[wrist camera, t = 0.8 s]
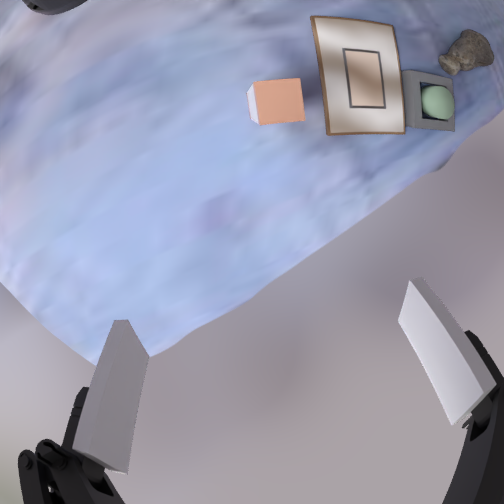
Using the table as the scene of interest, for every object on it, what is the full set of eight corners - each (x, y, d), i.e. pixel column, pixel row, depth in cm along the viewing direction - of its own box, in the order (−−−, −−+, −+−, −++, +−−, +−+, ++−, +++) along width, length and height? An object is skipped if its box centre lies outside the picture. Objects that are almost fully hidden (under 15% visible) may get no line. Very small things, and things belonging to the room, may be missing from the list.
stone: (436, 77, 23) (489, 101, 19) (438, 52, 18) (498, 78, 15) (442, 35, 21) (489, 54, 18) (442, 11, 16) (495, 32, 13)
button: (416, 83, 22) (429, 83, 20) (440, 88, 22) (453, 89, 20) (419, 115, 24) (432, 117, 22) (442, 118, 24) (455, 120, 22)
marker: (246, 93, 24) (253, 81, 14) (273, 90, 24) (299, 78, 14) (250, 118, 26) (260, 125, 15) (277, 115, 25) (305, 120, 15)
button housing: (401, 70, 22) (410, 70, 21) (442, 78, 22) (452, 79, 21) (405, 126, 26) (414, 128, 24) (445, 129, 26) (454, 131, 24)
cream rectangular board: (309, 17, 20) (311, 15, 19) (390, 26, 19) (393, 25, 19) (326, 135, 27) (328, 135, 26) (402, 133, 26) (406, 134, 26)
